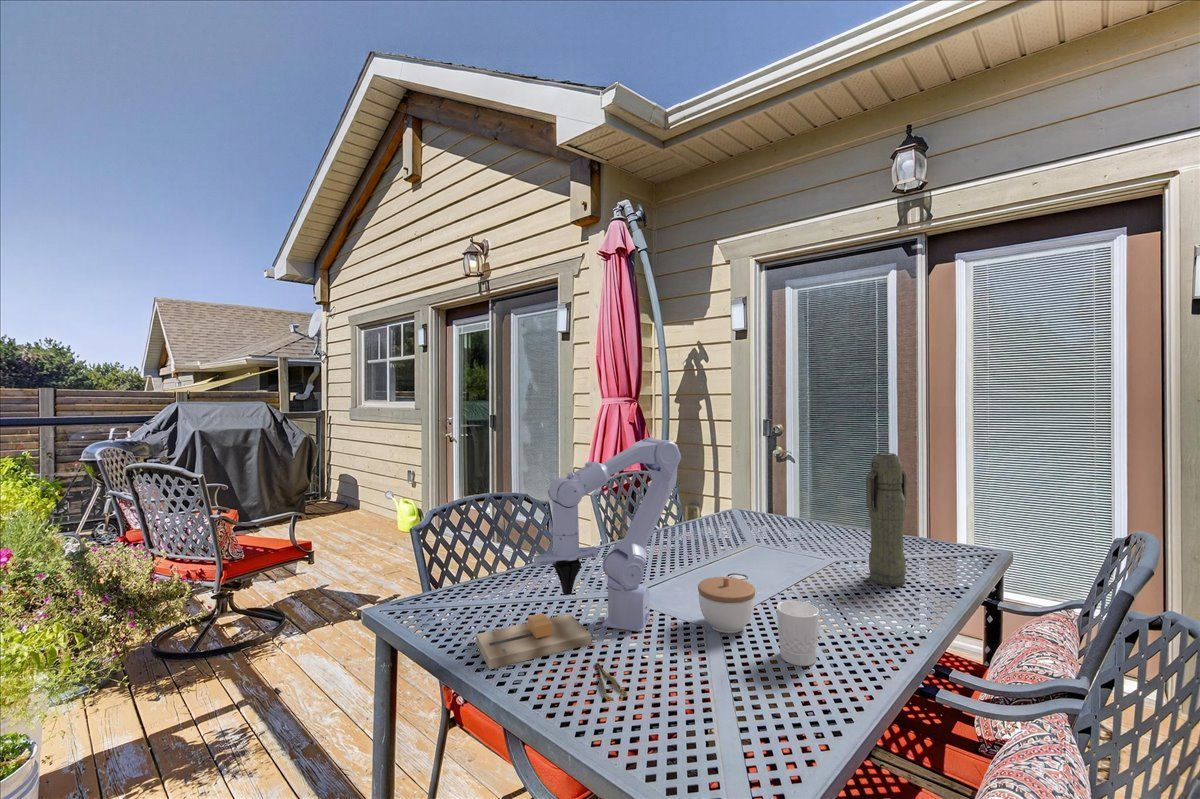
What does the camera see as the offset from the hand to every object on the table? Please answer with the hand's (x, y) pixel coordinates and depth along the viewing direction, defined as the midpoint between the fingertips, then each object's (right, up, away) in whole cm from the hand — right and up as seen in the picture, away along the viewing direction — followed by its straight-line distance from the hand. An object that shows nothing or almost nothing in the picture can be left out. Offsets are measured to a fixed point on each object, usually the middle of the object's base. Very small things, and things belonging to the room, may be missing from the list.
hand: (567, 593), depth 116 cm
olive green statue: (+87, -7, +29) cm, 92 cm away
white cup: (+47, -9, -11) cm, 49 cm away
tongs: (+8, -11, -18) cm, 23 cm away
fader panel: (-7, -10, -3) cm, 12 cm away
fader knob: (-6, -7, -3) cm, 10 cm away
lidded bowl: (+36, -9, +3) cm, 37 cm away
